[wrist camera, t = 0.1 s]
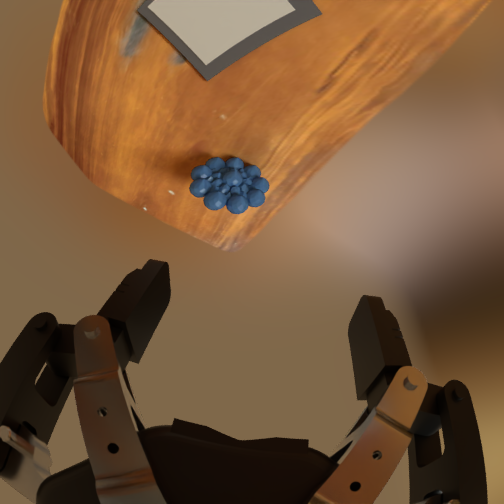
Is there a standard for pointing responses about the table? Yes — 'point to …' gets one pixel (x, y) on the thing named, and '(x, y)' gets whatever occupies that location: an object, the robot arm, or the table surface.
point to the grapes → (229, 185)
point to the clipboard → (224, 27)
